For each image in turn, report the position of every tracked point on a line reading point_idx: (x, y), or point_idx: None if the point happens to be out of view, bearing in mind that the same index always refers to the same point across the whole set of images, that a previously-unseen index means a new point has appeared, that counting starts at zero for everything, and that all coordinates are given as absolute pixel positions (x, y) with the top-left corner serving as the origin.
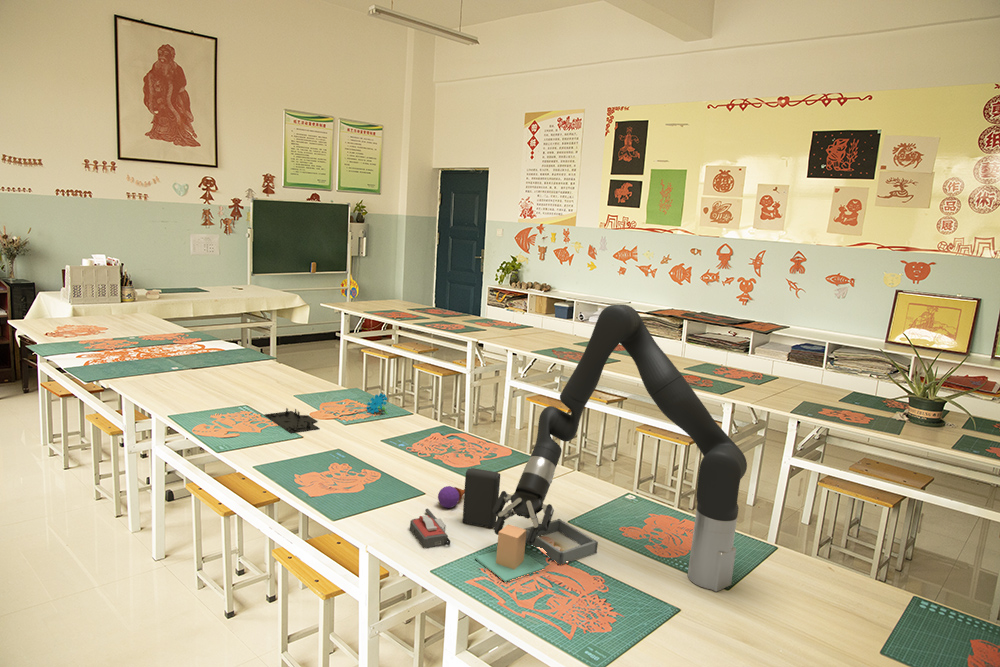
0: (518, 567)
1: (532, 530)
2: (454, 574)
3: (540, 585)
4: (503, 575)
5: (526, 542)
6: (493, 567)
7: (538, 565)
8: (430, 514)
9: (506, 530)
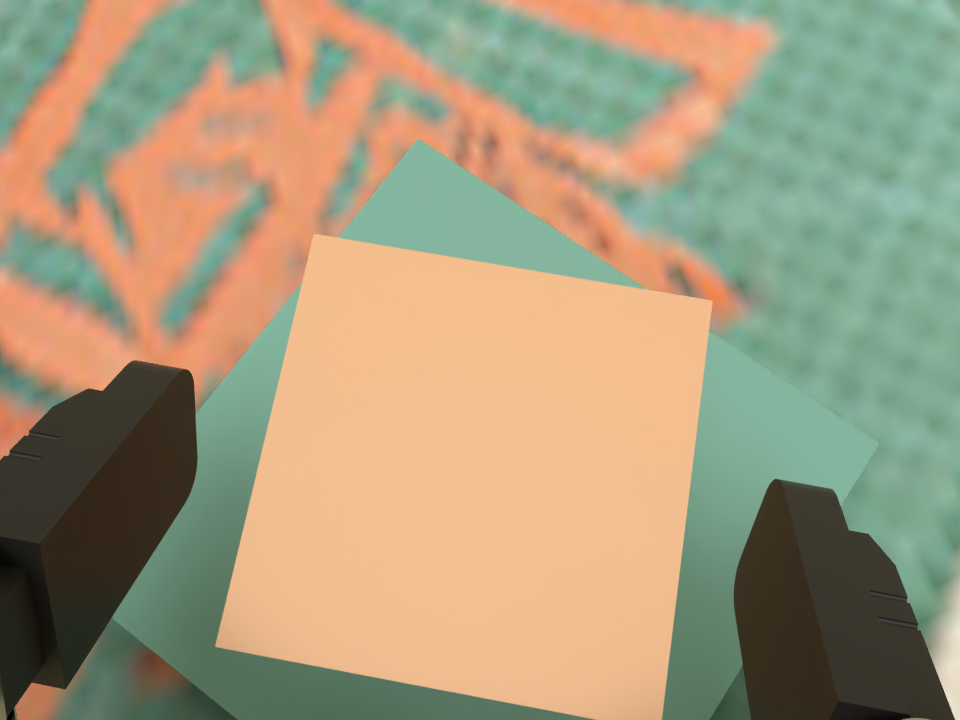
0: None
1: (27, 490)
2: (915, 97)
3: (81, 256)
4: (462, 220)
5: (190, 381)
6: None
7: (143, 587)
8: None
9: (595, 428)
